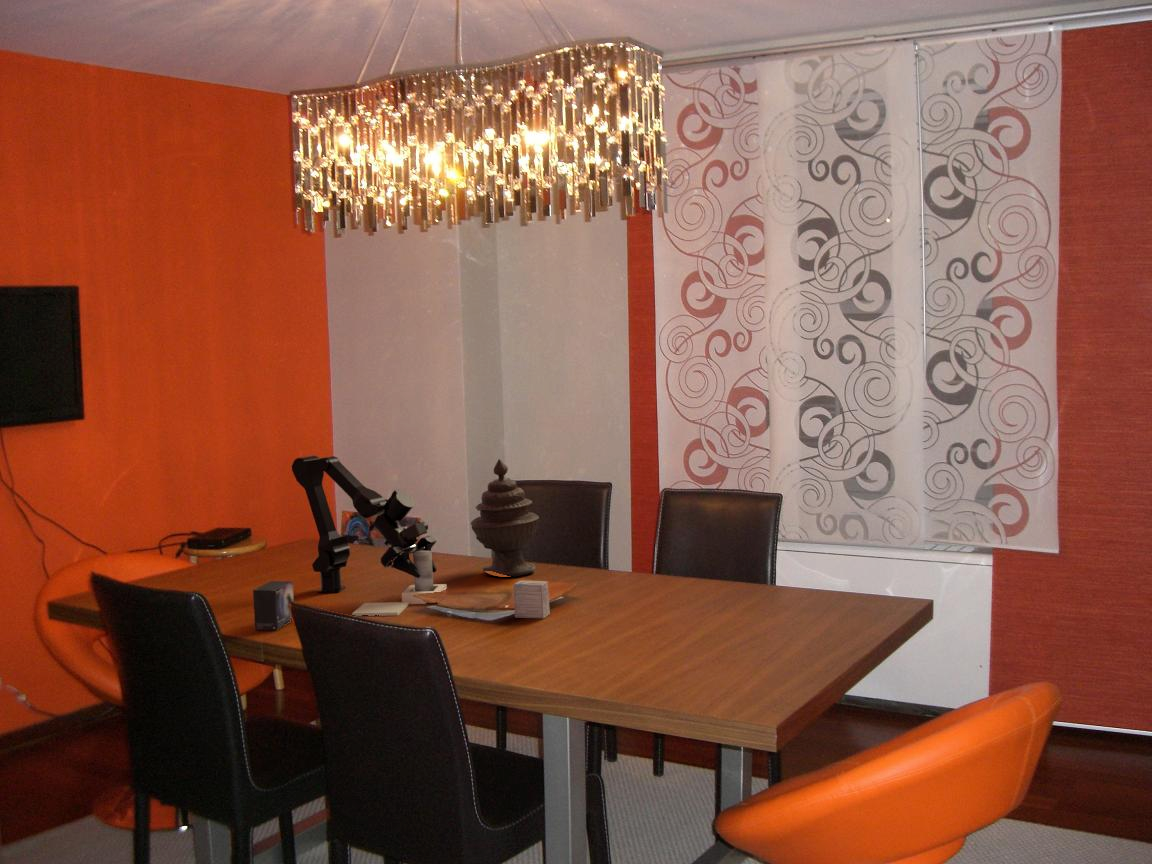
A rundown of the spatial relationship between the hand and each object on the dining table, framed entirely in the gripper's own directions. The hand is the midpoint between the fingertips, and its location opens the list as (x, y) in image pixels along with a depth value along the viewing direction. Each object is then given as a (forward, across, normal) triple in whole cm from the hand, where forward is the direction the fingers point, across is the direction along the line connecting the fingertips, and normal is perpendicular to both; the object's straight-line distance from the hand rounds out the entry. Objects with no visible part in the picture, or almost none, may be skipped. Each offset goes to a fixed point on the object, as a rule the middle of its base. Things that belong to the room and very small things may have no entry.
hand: (427, 574), depth 307 cm
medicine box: (+31, -6, -20) cm, 38 cm away
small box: (-10, -36, +20) cm, 42 cm away
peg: (+4, 0, +6) cm, 7 cm away
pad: (+1, -14, +9) cm, 17 cm away
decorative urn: (+7, +35, +3) cm, 36 cm away
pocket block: (+4, 0, +6) cm, 7 cm away
